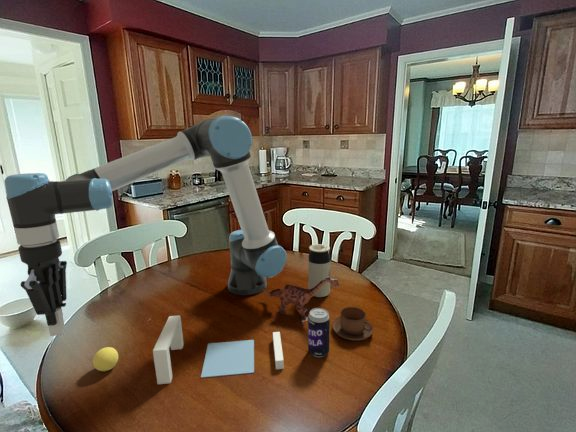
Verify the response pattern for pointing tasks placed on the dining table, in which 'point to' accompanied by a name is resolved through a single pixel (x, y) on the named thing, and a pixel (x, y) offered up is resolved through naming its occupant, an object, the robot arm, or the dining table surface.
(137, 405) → the dining table surface
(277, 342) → the stopper
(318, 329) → the beverage can
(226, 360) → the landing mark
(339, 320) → the cup and saucer
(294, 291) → the toy dinosaur
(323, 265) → the travel mug
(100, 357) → the ball
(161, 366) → the bridge
